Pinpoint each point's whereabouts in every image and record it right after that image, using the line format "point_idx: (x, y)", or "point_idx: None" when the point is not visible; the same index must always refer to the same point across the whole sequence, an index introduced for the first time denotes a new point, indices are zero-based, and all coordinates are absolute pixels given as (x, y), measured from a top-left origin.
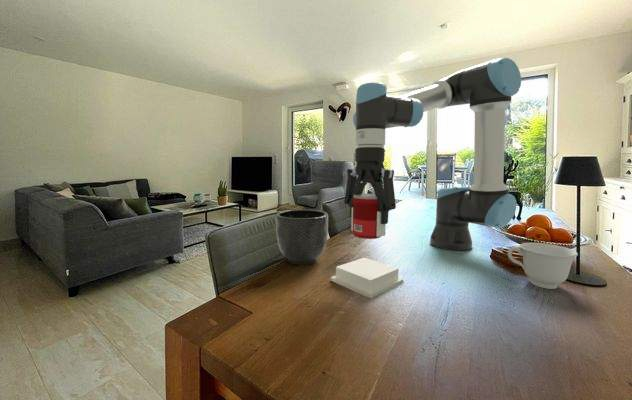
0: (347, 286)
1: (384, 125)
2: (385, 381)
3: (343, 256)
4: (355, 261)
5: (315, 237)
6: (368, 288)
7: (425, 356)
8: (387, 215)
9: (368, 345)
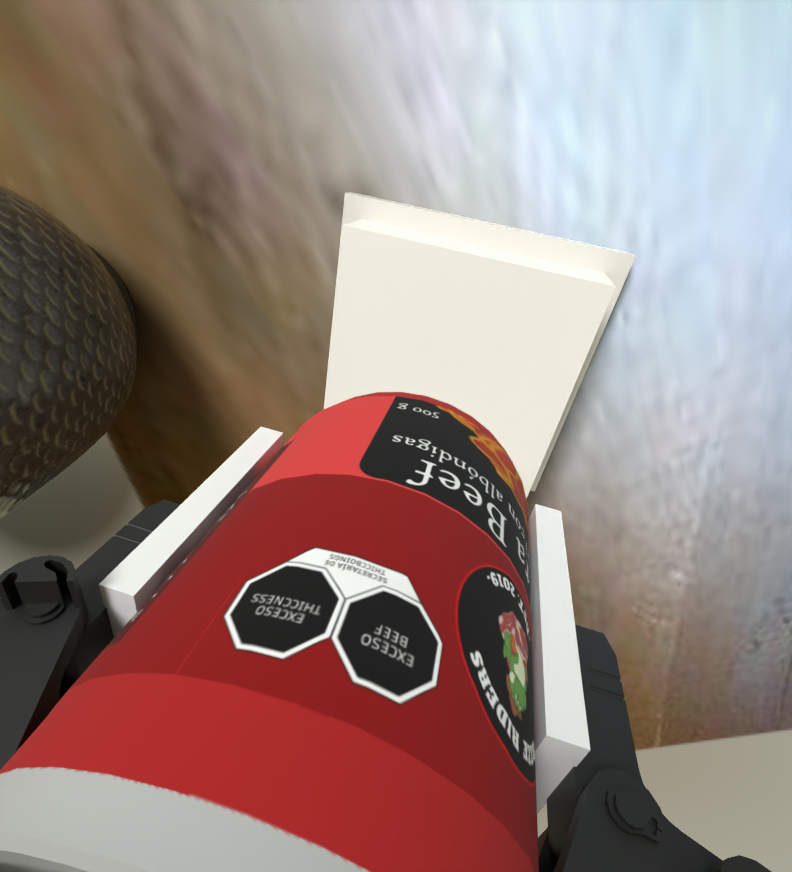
0: None
1: None
2: (676, 726)
3: (130, 61)
4: (343, 328)
5: (68, 420)
6: None
7: (761, 661)
8: (624, 740)
9: None
